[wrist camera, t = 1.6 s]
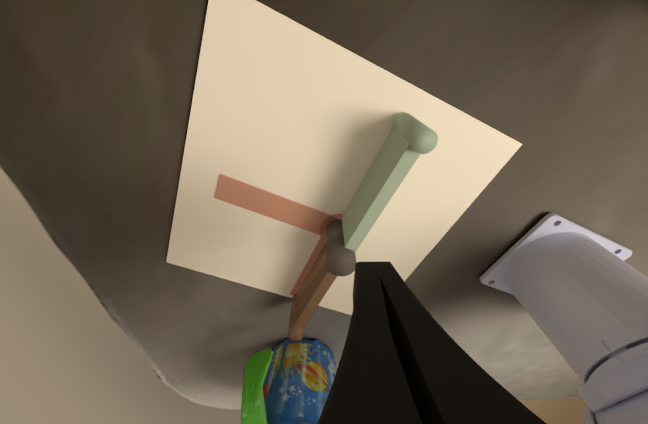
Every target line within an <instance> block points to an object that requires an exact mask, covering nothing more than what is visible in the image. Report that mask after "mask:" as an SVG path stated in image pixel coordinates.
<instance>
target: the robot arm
mask: <svg viewBox="0 0 648 424" xmlns="http://www.w3.org/2000/svg"><path fill="white" fill-rule="evenodd" d="M631 255H632V251H631V250H629V249H628V248H626V247H624V246H622V245H620V244H617V243H615V242H613V241H611V240H609V239H607V238H605V237H603V236H601V235H599V234H596V233H594V232H592V231H590V230H588V229H586V228H584V227H582V226H580V225H578V224H575V223H573V222H571V221H569V220H567V219H565V218H563V217H561V216H559V215H557V214H554V213H550V214H547V215H546V216H544V217H543V218H542V219H541V220H540V221H539V222H538V223H537V224H536V225H535V226H534V227H533V228H532V229H531V230H530V231H528V232H527V233H526V234H525V235H524V236H523V237H522V238H521V239H520V240H519V241H518V242H517V243H516V244H515V245H514V246H512V247H511V248H510V249H509V250H508V251H507V252H506V253H505V254H504V255H503V256H502V257H501V258H500V259H499V260H498V261H497V262H495V263H494V264H493V265H492V266H491V267H490V268H489V269H488V270H487V271H486V272H485V273H484V274H483V275H482V276H481V277H480V281H481V283H482V284H485V285H487V286H490V287H493V288H496V289H498V290H501V291H504V292H507V293H509V294H512V295H514V296H515V297H516V298H517V300H518V301H519V302H520V303H521V305H522V306H523V307H524V308H525V310H526V311H527V312H528V314H529V315H530V316H531V317H532V319H533V320H534V321H535V322H536V324H537V325H538V326H539V327H540V329H541V330H542V331H543V332H544V334H545V335H546V336H547V337H548V339H549V340H550V341H551V342H552V344H553V345H554V346H555V347H556V349H557V350H558V351H559V353H560V354H561V355H562V356H563V358H564V359H565V360H566V361H567V363H568V364H569V365H570V366H571V368H572V369H573V370H574V371H575V373H576V374H577V375H578V376H579V378H580V379H581V380H582V381H583V383H584V385H582V386H581V387H579V388H577V390H576V391H577V392H578V393H579V395H580V396H581V397H582V398H583V400H584V401H585V402H586V404H587V405H588V406H587V407H586V408H585V409H584V411H583V421H584V424H648V277H647V276H645V275H644V274H642V273H641V272H639V271H638V270H636V269H635V268H633V267H632V266H630V265H629V264H628V263H626V262H625V261H624V260H626V259H627V258H629V257H630V256H631ZM317 424H546V423H545V422H544V421H543V420H541V419H540V418H539V417H538V416H536V415H535V414H534V413H533V412H531V411H530V410H529V409H528V408H526V407H525V406H524V405H523V404H522V403H521V402H520V401H518V400H517V399H516V398H515V397H514V396H513V395H511V394H510V393H509V392H508V391H507V390H506V389H505V388H503V387H502V386H501V385H500V384H499V383H498V382H497V381H495V380H494V379H493V378H492V377H491V376H490V375H489V374H488V373H486V372H485V371H484V370H483V369H482V368H481V367H480V366H479V365H478V364H477V363H476V362H475V361H474V360H473V359H472V358H471V357H470V356H469V355H468V354H467V353H466V352H465V351H464V350H463V349H462V348H461V347H460V346H459V345H458V344H457V343H456V342H455V341H454V340H453V339H452V338H451V337H450V336H449V335H448V334H447V333H446V332H445V331H444V329H443V328H442V327H441V326H440V325H439V324H438V323H437V322H436V320H435V319H434V318H433V317H432V316H431V315H430V313H429V312H428V311H427V310H426V309H425V307H424V306H423V305H422V304H421V302H420V301H419V300H418V299H417V298H416V296H415V295H414V294H413V292H412V291H411V290H410V288H409V287H408V286H407V284H406V283H405V282H404V280H403V279H402V278H401V276H400V275H399V273H398V272H397V271H396V269H395V268H394V266H393V265H392V264H391V263H390V262H357V263H356V264H355V274H354V285H353V313H352V318H351V322H350V327H349V331H348V335H347V339H346V343H345V346H344V350H343V353H342V356H341V360H340V363H339V366H338V369H337V372H336V375H335V378H334V381H333V384H332V387H331V389H330V392H329V395H328V397H327V400H326V403H325V405H324V408H323V410H322V413H321V416H320V418H319V421H318V423H317Z"/></svg>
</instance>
